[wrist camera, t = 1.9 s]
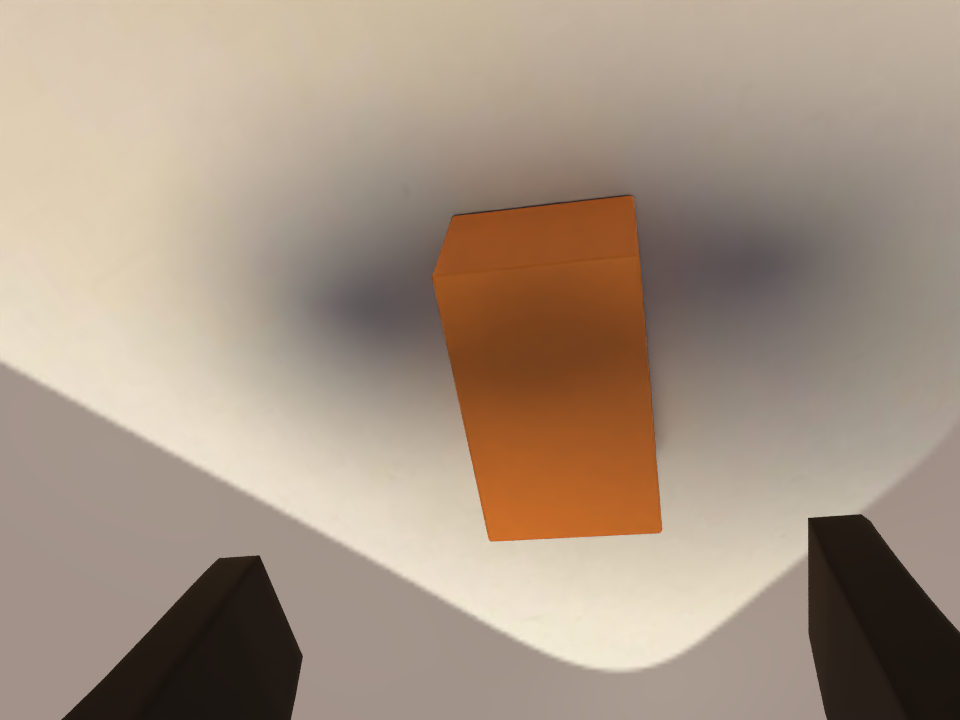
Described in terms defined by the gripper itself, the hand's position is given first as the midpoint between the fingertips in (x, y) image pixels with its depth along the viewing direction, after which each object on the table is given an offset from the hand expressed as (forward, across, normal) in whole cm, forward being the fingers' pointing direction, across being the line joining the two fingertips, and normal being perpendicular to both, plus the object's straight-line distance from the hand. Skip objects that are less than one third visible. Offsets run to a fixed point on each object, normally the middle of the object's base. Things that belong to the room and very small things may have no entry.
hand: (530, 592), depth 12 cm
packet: (+10, 0, +2) cm, 10 cm away
